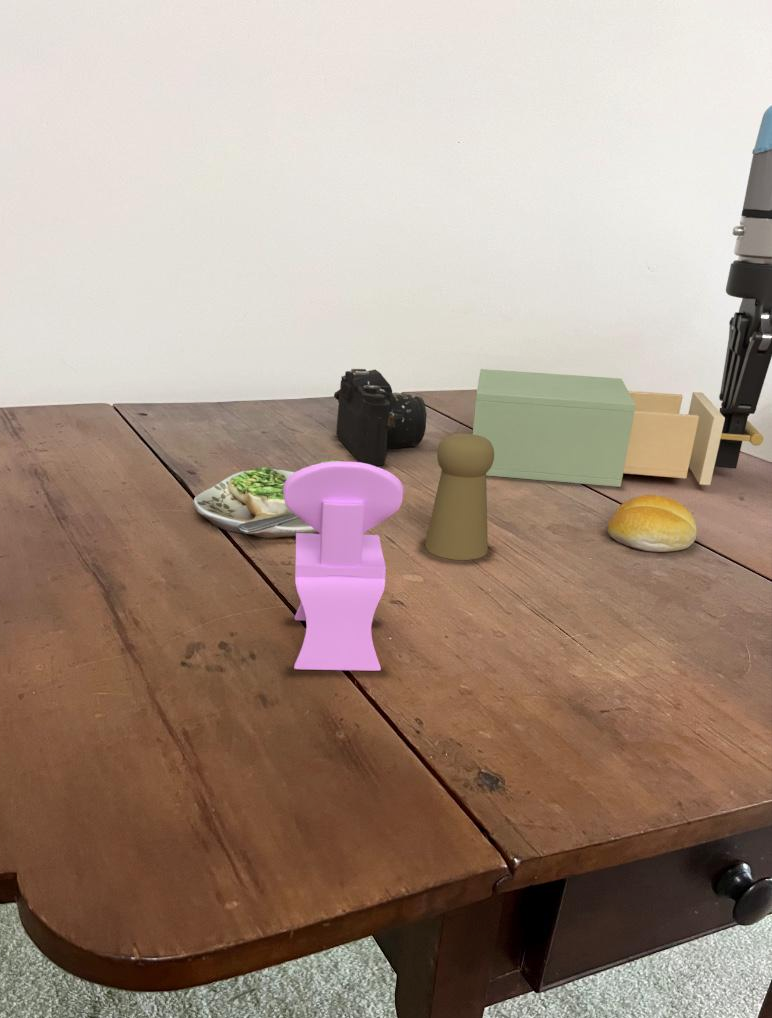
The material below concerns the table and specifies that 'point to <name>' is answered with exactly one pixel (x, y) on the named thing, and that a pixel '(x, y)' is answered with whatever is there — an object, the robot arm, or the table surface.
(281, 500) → the salad plate
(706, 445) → the drawer
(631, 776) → the table surface
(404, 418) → the film camera
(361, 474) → the toy chair
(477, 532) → the cork
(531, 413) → the cabinet
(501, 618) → the table surface
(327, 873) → the table surface
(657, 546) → the bread roll
